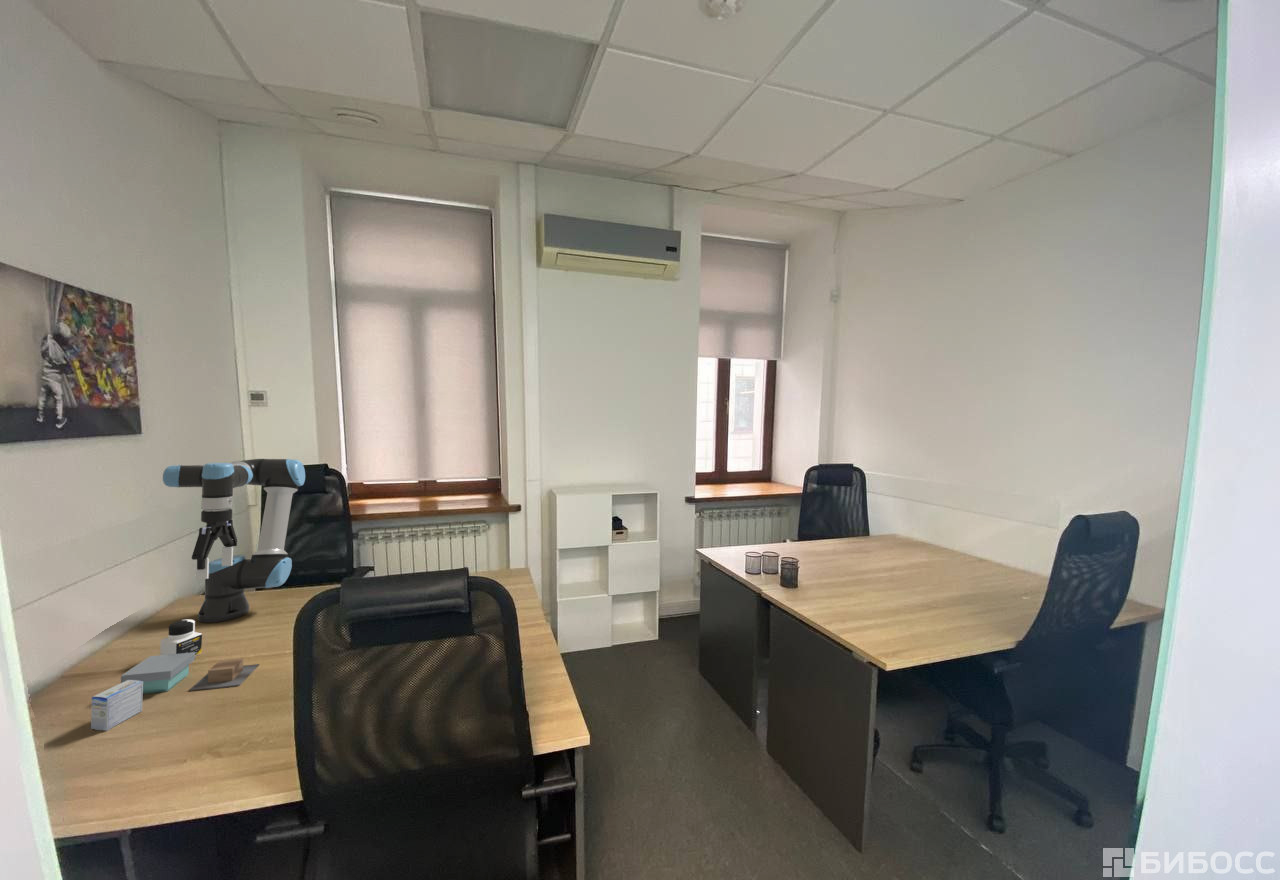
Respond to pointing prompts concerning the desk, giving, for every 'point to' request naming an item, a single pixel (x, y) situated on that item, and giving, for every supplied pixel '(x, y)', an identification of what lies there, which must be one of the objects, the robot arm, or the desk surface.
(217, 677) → the stand
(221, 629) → the desk surface
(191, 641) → the medicine bottle
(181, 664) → the cover plate
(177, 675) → the dish
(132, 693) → the medicine box
